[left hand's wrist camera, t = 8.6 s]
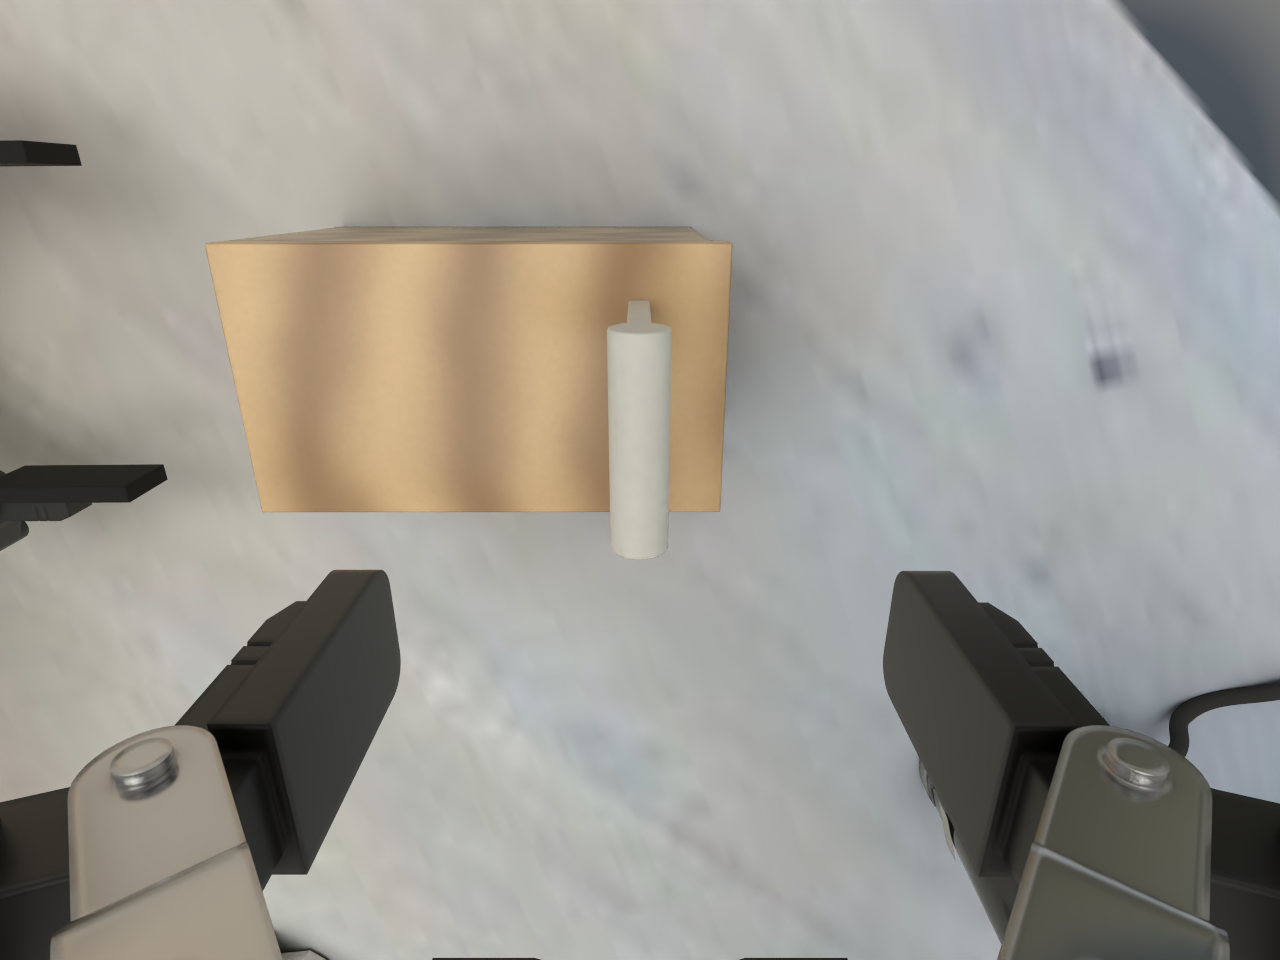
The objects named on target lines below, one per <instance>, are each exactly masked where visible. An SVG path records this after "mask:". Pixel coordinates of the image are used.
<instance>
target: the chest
mask: <svg viewBox="0 0 1280 960" xmlns="http://www.w3.org/2000/svg"><path fill="white" fill-rule="evenodd" d="M230 241H709V240H707V239H706V238H704V237H703V236H702V235H700V234H699V233H697V232H696V231H694V230H693V229H692V228H691V227H335V228H330V229H322V230H314V231H305V232H297V233H288V234H280V235H272V236H263V237H255V238H247V239H238V240H230Z"/></svg>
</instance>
